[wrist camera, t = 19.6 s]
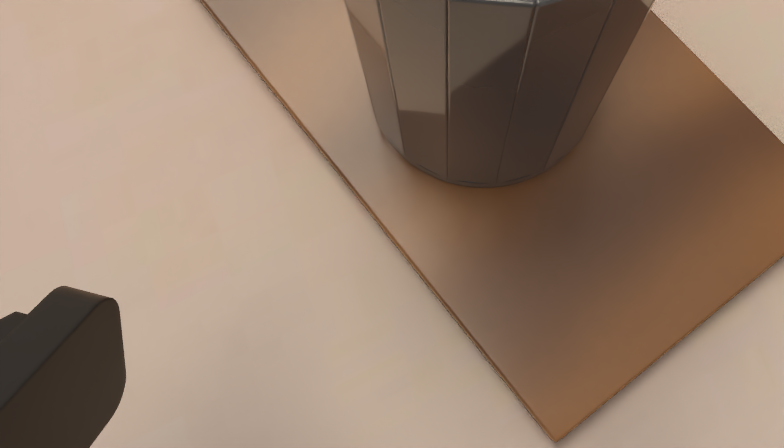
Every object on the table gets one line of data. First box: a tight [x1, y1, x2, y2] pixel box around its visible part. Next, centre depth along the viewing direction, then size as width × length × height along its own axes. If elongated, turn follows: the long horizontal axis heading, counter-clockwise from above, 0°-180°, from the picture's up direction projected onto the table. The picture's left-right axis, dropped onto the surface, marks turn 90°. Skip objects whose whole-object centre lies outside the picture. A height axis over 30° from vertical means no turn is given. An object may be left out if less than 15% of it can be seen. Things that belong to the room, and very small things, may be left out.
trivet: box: [200, 0, 784, 442], centre depth 19 cm, size 16×9×1 cm, turn 38°
